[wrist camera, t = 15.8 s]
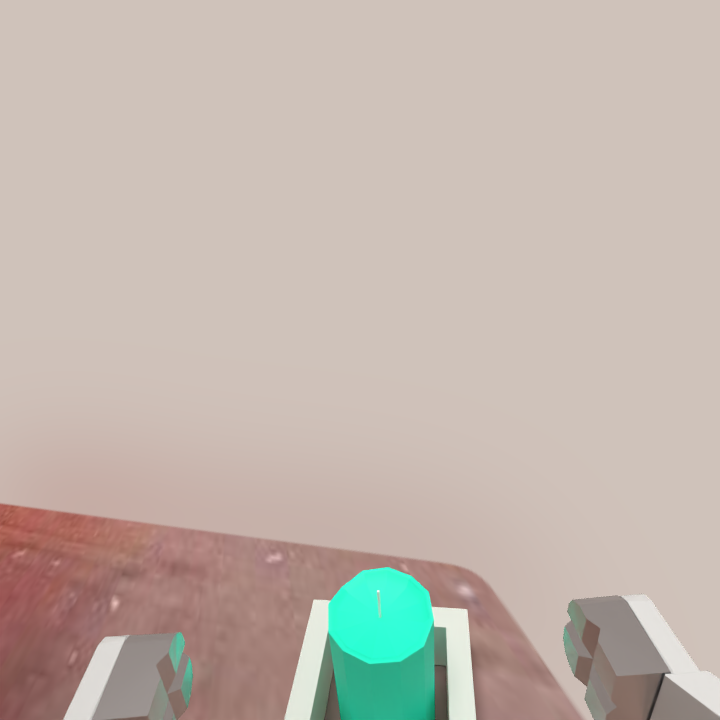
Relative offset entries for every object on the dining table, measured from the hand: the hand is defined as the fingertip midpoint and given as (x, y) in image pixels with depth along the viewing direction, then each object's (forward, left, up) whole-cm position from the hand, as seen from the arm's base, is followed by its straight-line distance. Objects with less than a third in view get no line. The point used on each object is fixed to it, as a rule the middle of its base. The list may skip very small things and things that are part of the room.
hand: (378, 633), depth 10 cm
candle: (-2, +12, -25) cm, 28 cm away
